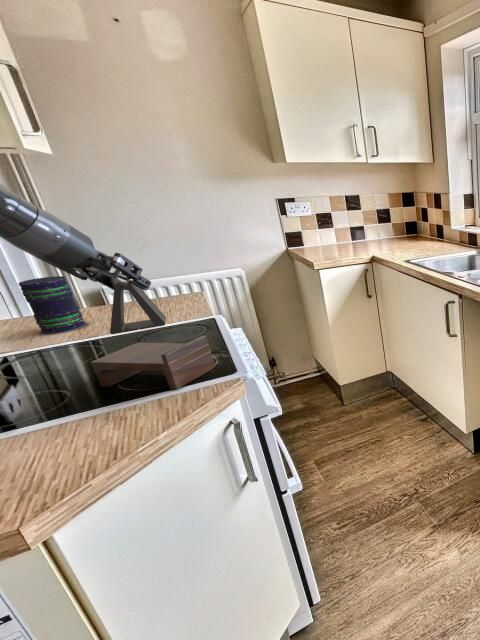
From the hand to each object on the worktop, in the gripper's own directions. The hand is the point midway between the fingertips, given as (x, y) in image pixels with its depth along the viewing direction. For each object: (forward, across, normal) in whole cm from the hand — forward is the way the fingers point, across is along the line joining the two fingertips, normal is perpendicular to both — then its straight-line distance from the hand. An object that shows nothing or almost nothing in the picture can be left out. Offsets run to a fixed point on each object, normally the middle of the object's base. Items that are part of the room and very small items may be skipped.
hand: (133, 286), depth 89 cm
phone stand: (+5, 0, +7) cm, 9 cm away
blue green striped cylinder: (+35, +60, -5) cm, 69 cm away
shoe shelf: (+14, 0, +16) cm, 21 cm away
